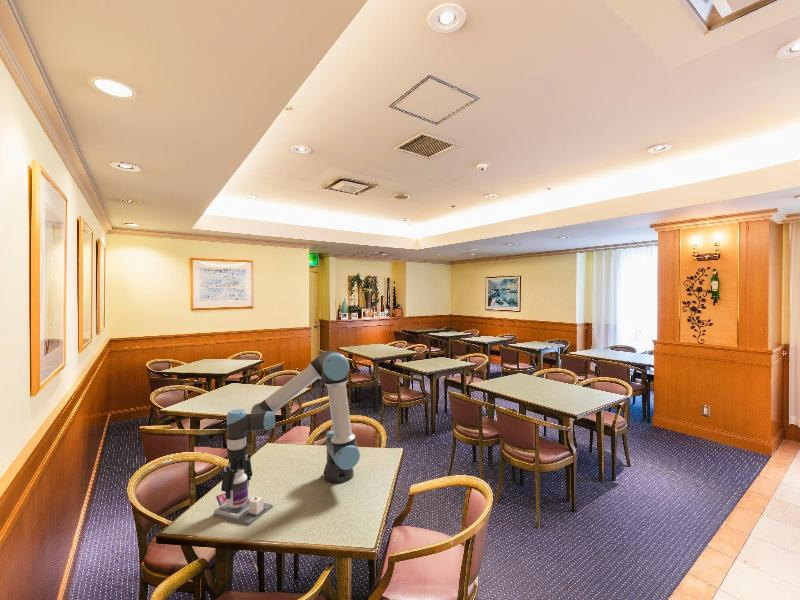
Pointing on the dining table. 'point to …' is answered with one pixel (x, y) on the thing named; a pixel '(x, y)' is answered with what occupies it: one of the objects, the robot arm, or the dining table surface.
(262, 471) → the dining table surface
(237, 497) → the pill bottle
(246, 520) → the dock plate
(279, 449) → the dining table surface
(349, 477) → the robot arm
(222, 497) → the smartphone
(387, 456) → the dining table surface
